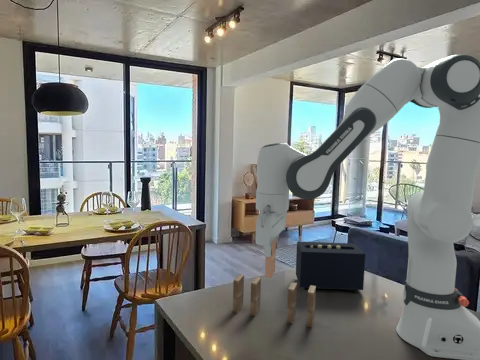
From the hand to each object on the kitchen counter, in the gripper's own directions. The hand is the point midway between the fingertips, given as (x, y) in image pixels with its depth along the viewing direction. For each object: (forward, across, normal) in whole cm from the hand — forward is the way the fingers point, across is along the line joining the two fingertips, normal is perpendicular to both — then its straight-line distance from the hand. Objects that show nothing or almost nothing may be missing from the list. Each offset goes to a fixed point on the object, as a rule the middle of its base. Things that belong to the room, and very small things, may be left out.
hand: (270, 252), depth 95 cm
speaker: (+21, +34, -13) cm, 42 cm away
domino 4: (+21, +6, -5) cm, 22 cm away
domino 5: (+21, +6, -11) cm, 24 cm away
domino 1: (+21, +6, +11) cm, 24 cm away
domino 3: (+6, 0, 0) cm, 6 cm away
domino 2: (+21, +6, +6) cm, 22 cm away
